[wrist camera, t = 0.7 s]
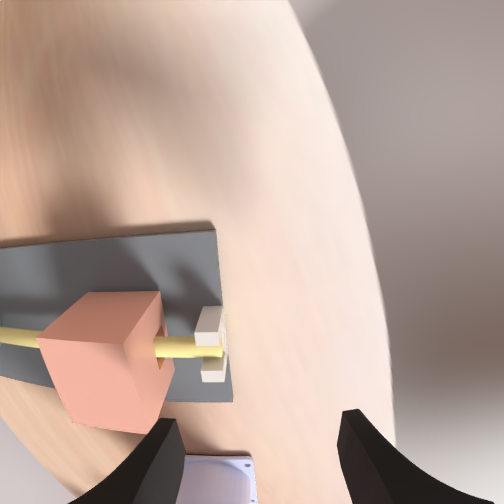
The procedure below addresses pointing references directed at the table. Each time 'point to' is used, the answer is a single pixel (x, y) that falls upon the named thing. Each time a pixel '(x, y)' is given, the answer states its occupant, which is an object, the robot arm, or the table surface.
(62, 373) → the marker sleeve
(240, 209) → the table surface
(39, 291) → the cord rig
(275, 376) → the table surface
